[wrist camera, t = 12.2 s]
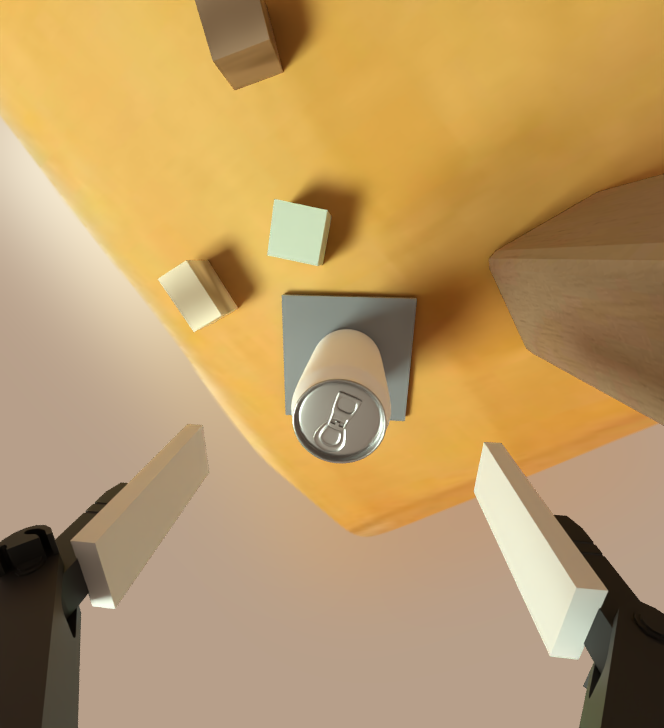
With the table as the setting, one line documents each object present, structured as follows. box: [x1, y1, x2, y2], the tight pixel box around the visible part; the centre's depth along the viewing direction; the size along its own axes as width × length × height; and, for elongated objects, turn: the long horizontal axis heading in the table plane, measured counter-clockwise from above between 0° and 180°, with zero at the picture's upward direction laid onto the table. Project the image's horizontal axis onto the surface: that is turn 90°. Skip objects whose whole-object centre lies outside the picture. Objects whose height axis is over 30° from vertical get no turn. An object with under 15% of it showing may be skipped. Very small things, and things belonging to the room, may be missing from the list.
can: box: [291, 329, 391, 463], centre depth 25 cm, size 6×6×12 cm
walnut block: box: [195, 0, 283, 90], centre depth 22 cm, size 4×4×4 cm
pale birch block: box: [158, 260, 238, 332], centre depth 28 cm, size 5×3×4 cm, turn 29°
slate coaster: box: [282, 294, 417, 421], centre depth 31 cm, size 12×12×1 cm
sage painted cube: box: [267, 199, 332, 266], centre depth 26 cm, size 4×4×4 cm
